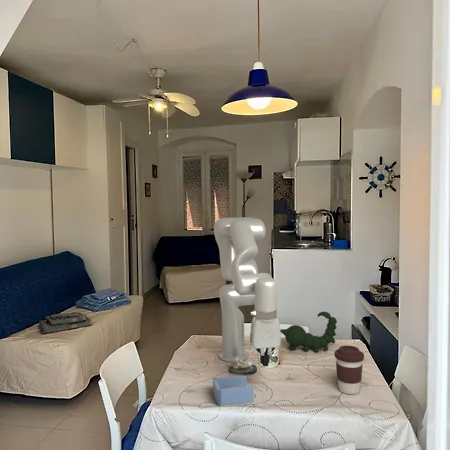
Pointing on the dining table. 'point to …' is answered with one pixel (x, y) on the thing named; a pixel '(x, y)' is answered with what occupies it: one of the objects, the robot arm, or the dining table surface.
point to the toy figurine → (311, 336)
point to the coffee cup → (349, 369)
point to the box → (232, 390)
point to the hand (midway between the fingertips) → (264, 364)
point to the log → (242, 368)
